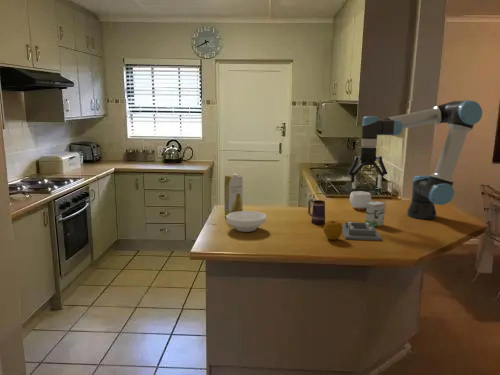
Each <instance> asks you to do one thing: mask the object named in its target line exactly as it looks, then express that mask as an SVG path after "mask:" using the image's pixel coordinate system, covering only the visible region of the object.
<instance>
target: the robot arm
mask: <svg viewBox="0 0 500 375" xmlns="http://www.w3.org/2000/svg"><path fill="white" fill-rule="evenodd" d="M482 117H483V109H482V106H481V105H480V103H478V102H477V101H474V100H468V99H467V100H455V101H454V100H453V101H450V102H446V103H442V104H439V105H435V106H433V107H432V108H430V109H424V110H419V111H414V112H410V113H405V114H400V115H395V116H389V117H385V118H379V116H377V115H366V116H365V115H364V116H363V117H362V123H361V148H360V156H356V155H355V156H354V157H353V158H354V159H353V162H352V164H351V166H350V167H349V169H348V171H347V175H350V182H351V183H352V184H351V188H352V189H354V190H356V186H357V176H356V175H357V173H359V171H360V170H361V169H362V168H363V167H364V166H373V168H374V169H375V170H376V172H377V173H378V175H377V188H378V189H382V182H383V181H384V176H385V175H388V171H387V168H386V166H385V164H384V161H383V157H382V156H380V155H378V156H377V146H378V145H377V144H378V136H397V135H398V136H399V135H401V133H402V131H403V130H404V129H409V128H414V127H420V126H424V125H429V124H435V125H438V124H447V126H448V128H449V130H448V132H447V135H446V138H445V140H444V143H443V146H442V149H441V152H440V156H439V159H438V162H437V164H436V167H435V169H434V172H433V173H432V174H430V175H414V176H413V179H412V192H411V201H410V204H409V207H408V209H407V211H406V212H407V213H406V215H407V216H408V217H410V218H414V219H421V220H434V219H436V218H437V209H436V206H435V205H439V206H442V205H444V206H445V205H447V204H448V203H450V202H451V201H452V200H453V198H454V196H455V190H454V187H453V184H454V179H453V175H454V173H455V169H456V167H457V164H458V161H459V158H460V155H461V152H462V150H463V147H464V144H465V142H466V139H467V135H468V133H469V132H471V131H473V128H474V126H475V124H478V123H479V122H480V121H481V119H482ZM376 161H378V164H379V166H378V164H377V163H376ZM358 162H359V163H358ZM357 164H358V165H357Z"/></svg>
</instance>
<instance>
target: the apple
mask: <svg viewBox="0 0 500 375" xmlns="http://www.w3.org/2000/svg"><path fill="white" fill-rule="evenodd" d="M323 225H324V226H323V233H324V236H325V237H326V238H327V240H330V241H335V240H338V239H339V238H340V237H341V236H342V234H343V232H342V229H343V227H342V225H343V224H342V223H341V222H340V221H338V220H328V221H325V223H324V224H323Z"/></svg>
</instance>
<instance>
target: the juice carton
mask: <svg viewBox="0 0 500 375" xmlns="http://www.w3.org/2000/svg"><path fill="white" fill-rule="evenodd" d="M223 179H224V182H223V184H224V186H223V187H224V188H223V190H224V192H223V193H224V194H223V195H224V198H223V200H224V201H223V202H224V203H223V204H224V209H223V210H224V216H225V215H228V214H229V213H232V212H238V211H244V210H243V207H244V206H243V205H244V204H243V200H244V199H243V198H244V197H243V196H244V195H243V194H244V193H243V191H244V190H243V188H244V185H243V184H244V183H243V182H244V181H243V175H241V174H238V173H233V174H232V175H224V178H223Z"/></svg>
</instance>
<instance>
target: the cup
mask: <svg viewBox="0 0 500 375" xmlns="http://www.w3.org/2000/svg"><path fill="white" fill-rule="evenodd" d="M368 202H372V194H371V193H370V192H367V191H362V190H359V191H358V190H357V191H355V190H354V191H351V192H350V195H349V203H350V205H351V206H352V207H353V208H354V209H355V210H359V211H364V210H365V209H367V203H368Z"/></svg>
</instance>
